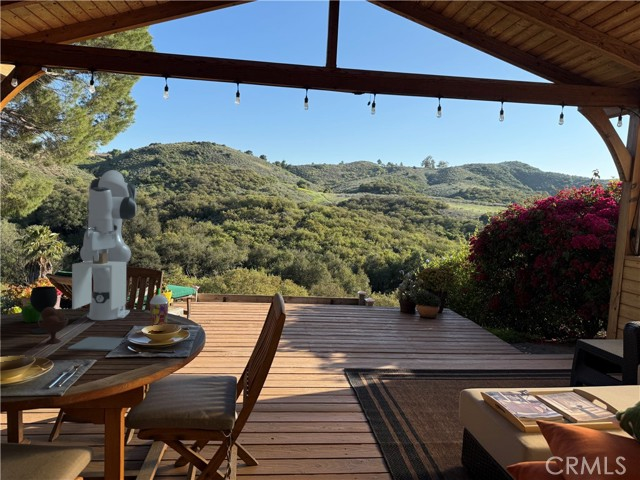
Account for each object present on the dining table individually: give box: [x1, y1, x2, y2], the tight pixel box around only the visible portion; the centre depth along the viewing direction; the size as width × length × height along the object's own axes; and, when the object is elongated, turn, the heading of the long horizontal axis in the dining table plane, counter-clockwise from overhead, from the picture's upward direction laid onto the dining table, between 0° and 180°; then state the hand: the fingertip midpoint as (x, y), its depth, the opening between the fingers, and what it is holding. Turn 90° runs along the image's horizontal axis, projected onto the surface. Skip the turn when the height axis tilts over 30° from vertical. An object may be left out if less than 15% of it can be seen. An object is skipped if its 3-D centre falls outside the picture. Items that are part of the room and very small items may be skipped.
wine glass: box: [29, 285, 58, 335], centre depth 192 cm, size 10×10×20 cm
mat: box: [66, 336, 125, 352], centre depth 176 cm, size 16×18×1 cm
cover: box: [71, 253, 127, 310], centre depth 175 cm, size 13×16×22 cm
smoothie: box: [149, 288, 170, 327], centre depth 199 cm, size 8×8×20 cm
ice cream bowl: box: [37, 306, 69, 345], centre depth 177 cm, size 11×11×15 cm
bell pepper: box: [21, 301, 42, 324], centre depth 209 cm, size 8×8×10 cm
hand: (100, 260), depth 175 cm, fingers closed on cover, 4 cm apart
